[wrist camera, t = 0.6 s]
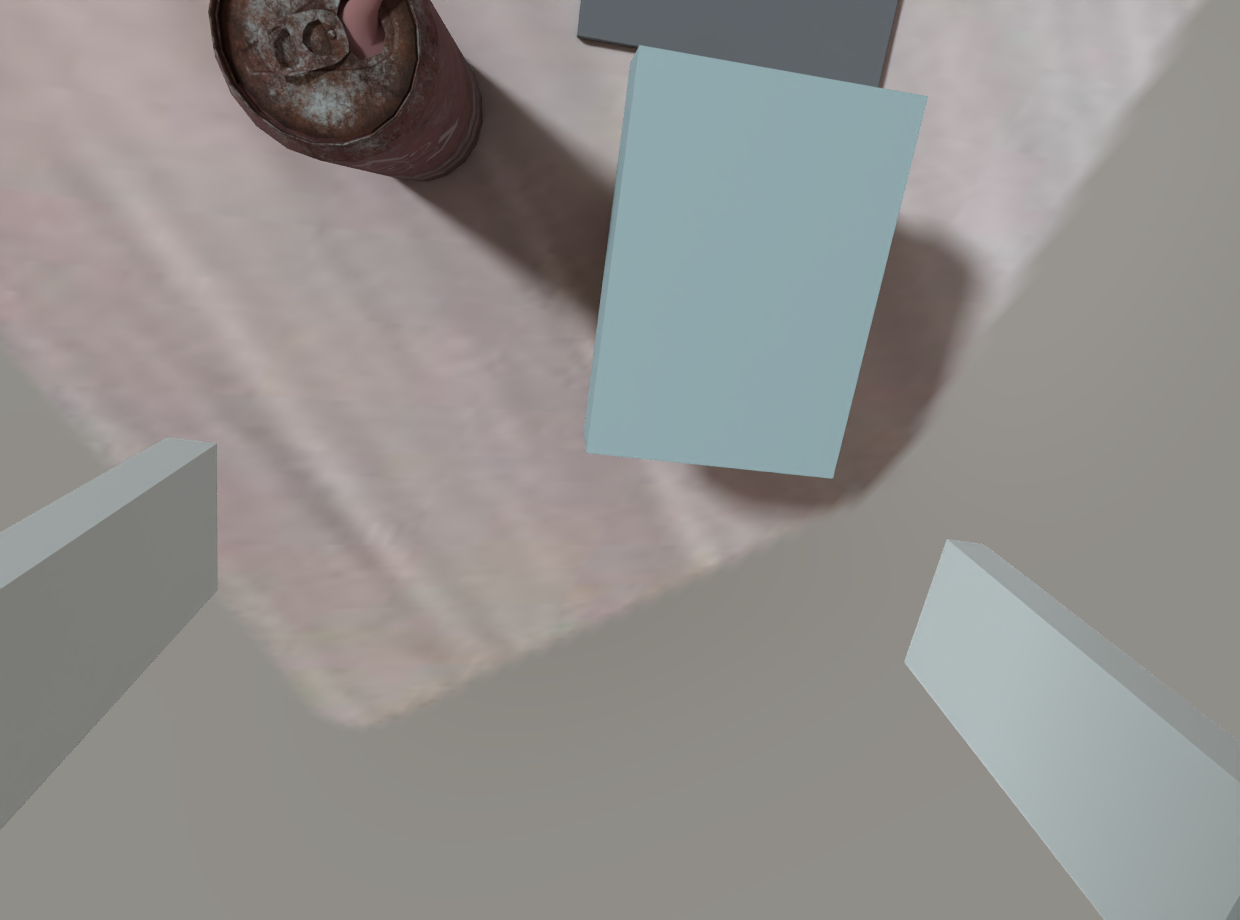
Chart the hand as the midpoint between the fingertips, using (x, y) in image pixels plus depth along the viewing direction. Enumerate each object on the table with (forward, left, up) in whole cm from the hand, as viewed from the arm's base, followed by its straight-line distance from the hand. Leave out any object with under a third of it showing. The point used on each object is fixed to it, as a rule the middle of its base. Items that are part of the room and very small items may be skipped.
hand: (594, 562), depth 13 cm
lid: (-4, +6, -17) cm, 19 cm away
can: (-10, -8, -25) cm, 28 cm away
